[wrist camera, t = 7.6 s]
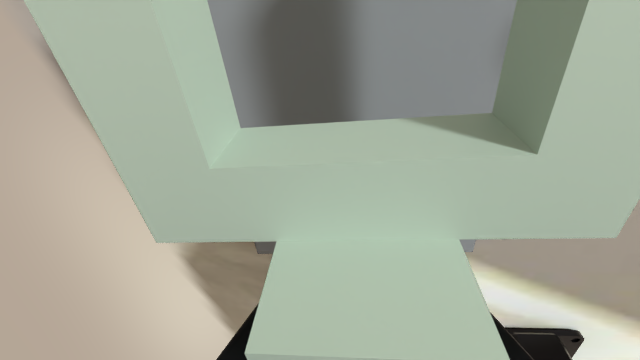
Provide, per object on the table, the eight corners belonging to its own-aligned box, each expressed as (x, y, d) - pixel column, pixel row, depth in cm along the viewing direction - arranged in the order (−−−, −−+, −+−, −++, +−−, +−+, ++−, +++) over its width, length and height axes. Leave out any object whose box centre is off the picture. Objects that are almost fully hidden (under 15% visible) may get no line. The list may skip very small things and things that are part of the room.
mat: (469, 245, 17) (472, 251, 16) (259, 247, 18) (257, 253, 18) (651, -509, 6) (675, -548, 5) (85, -349, 7) (69, -369, 7)
